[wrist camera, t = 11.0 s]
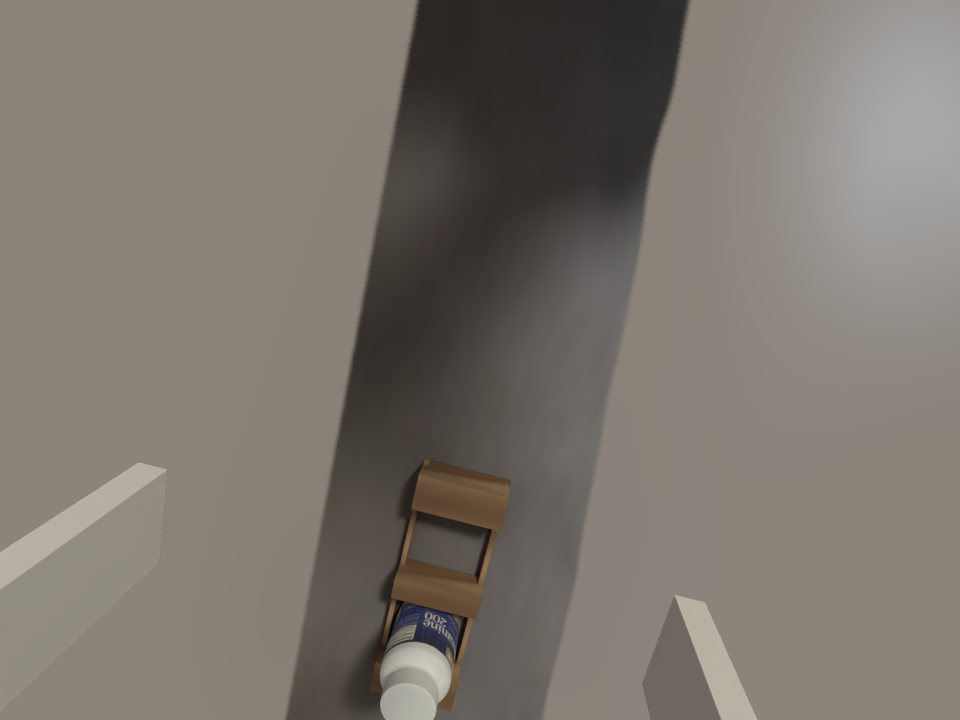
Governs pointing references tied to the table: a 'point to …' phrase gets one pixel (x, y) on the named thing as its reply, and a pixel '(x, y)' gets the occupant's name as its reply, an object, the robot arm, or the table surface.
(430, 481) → the brown wooden rack
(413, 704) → the pill bottle
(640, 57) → the table surface
